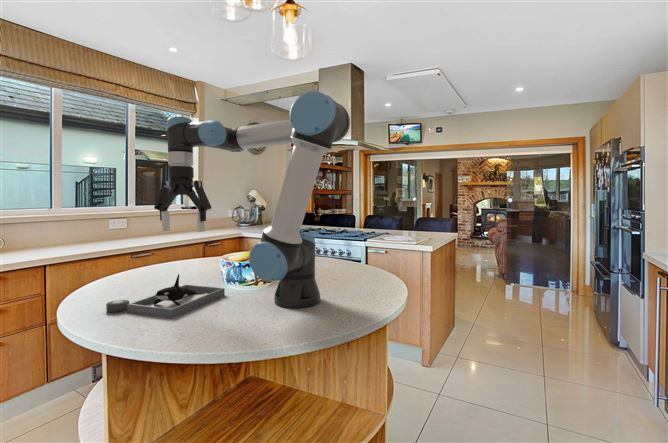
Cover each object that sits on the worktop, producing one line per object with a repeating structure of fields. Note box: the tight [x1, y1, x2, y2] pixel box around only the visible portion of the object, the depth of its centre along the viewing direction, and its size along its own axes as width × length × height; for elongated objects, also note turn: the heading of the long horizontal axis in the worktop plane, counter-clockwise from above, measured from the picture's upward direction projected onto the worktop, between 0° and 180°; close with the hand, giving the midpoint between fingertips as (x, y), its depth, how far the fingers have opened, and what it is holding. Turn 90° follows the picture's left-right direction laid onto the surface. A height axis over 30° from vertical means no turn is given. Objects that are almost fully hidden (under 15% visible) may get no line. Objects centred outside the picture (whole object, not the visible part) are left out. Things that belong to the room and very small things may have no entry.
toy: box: [154, 273, 205, 306], centre depth 118 cm, size 21×10×10 cm, turn 168°
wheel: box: [105, 299, 130, 314], centre depth 110 cm, size 6×6×3 cm
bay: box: [126, 284, 226, 319], centre depth 118 cm, size 16×25×2 cm, turn 162°
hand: (183, 231), depth 119 cm, fingers open, 13 cm apart
